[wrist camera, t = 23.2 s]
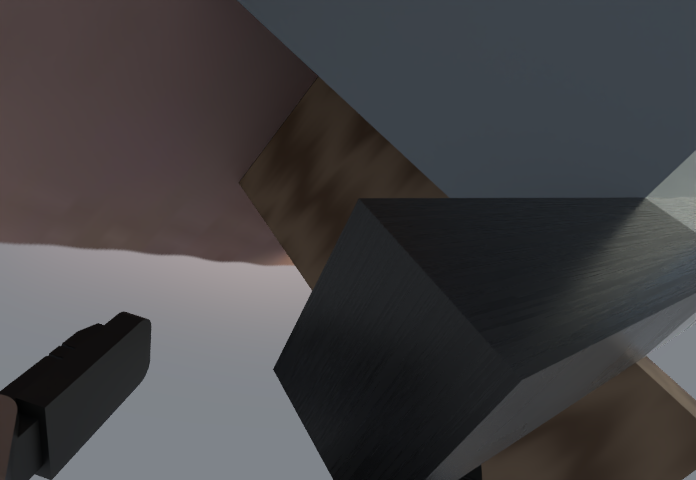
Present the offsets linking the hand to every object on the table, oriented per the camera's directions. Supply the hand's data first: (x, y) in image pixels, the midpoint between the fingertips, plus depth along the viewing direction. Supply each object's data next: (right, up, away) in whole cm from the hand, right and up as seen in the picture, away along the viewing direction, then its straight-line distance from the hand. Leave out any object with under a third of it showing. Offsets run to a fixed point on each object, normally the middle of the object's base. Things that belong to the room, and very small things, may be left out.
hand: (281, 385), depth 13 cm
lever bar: (+10, +4, +1) cm, 11 cm away
